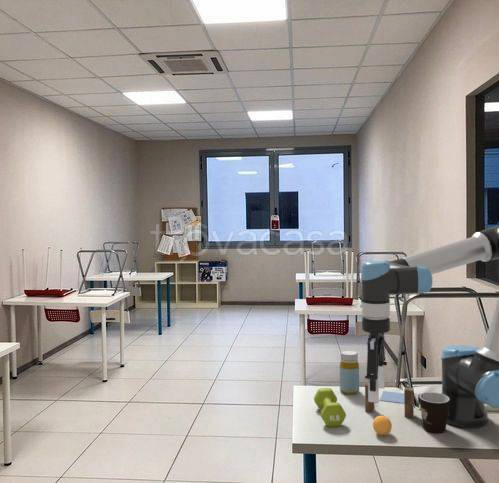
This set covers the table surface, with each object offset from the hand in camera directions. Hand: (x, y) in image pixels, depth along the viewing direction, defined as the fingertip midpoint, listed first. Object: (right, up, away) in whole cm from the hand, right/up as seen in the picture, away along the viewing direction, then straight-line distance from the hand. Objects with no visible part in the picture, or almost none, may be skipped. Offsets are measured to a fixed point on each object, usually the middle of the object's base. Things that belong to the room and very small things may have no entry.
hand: (376, 394), depth 138 cm
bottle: (+1, -13, +44) cm, 45 cm away
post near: (+16, -14, +22) cm, 31 cm away
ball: (+4, -12, +10) cm, 16 cm away
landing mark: (+16, -13, +37) cm, 43 cm away
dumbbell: (-10, -15, +23) cm, 29 cm away
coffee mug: (+21, -14, +13) cm, 29 cm away
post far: (+5, -14, +27) cm, 31 cm away
